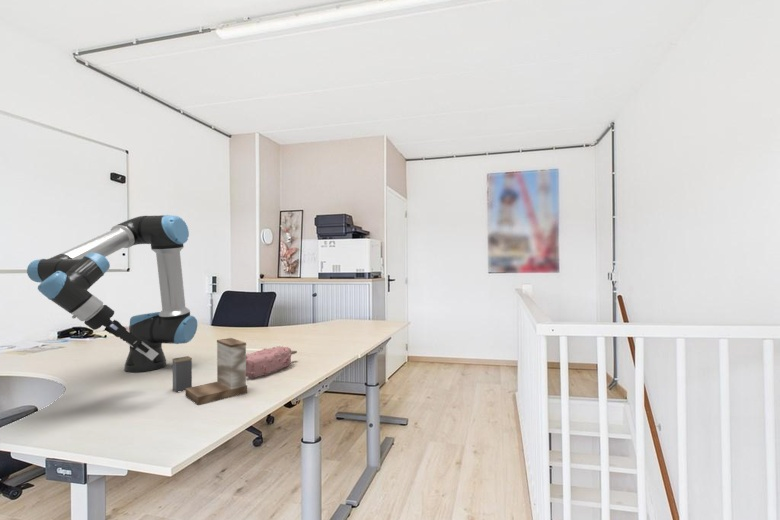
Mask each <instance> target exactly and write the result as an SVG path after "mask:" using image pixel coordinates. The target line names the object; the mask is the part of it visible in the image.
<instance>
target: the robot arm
mask: <svg viewBox="0 0 780 520" xmlns="http://www.w3.org/2000/svg"><path fill="white" fill-rule="evenodd" d="M189 236H190V231H189V227H188V225H187V223H186V222H185V220H184V219H182V217H180V216H178V215H172V214H171V215H170V214H165V215H164V214H163V215H140V216H136V217H133V218H130V219H127V220H125V221H123V222H120V223H118V224H116V225H114V226H112V227H111V229H110V230H109V231H106V232H105V233H103V234H101V235H98V236H96V237H94V238H92V239H90V240H87V241H85V242H83V243H81V244H78V245H77V246H74V247H72V248H70V249H68V250H66V251H64V252H61V253H59V254H56V255H54V256H51V257H50V258H41V259H36V260H35V259H34V260H32V261H31V262H30V263H29V264H28V266H27V267H26V274H27V276H28V278H29V279H30V280H31V281H33V282H35V283H39V285H38V286H37V290H38V292H39V293H41V294H42V295H43V296H45V297H46V298H47V299H48V300H50V301H51V302H53V303H54V304H56V305H57V306H59V307H60V308H61V309H63V310H65V311H66V312H67V313H69V314H71V315H72V316H71V318H72V319H77V320H79V321H81V322H84V325H86V327H88V328H90V329H91V330H93V331H94V330H98V329H100V328H101V327H105V328H103V329H104V331H106V332H107V333H109V334H111V335H113V336H115V337H116V338H119V339H120V340H122V341H123V342H125V343H126V344H128V345H129V352H128V355H127V357H126V360H125V364H124V371H125V372H128V373H141V372H142V373H144V372H150V371H155V370H159V369H163V368H164V367H167V359H166V356H165V353H164V349H163V348H162V347H163V346H162V344H171V345H172V344H173V345H174V344H175V345H179V344H187V343H189V342H191V341H192V340H193V338H194V337H195V336H196V335H195V334H196V333H197V330H198V320H197V318H196V317H195V316H193V315H191V311H190V309H189V308H188V307H186V299H185V289H184V281H183V279H184V278H183V270H182V260H181V251H182V250H183V249H184V248H185V247H184V246H185V245H184V244H186V243H187V241H188V240H189ZM136 245H150V249H151V251H153V252H154V253H155V254H156V264H157V272H158V273H157V274H158V281H159V282H158V283H159V292H160V303H161V311H156V312H150V313H149V312H148V313H142V314H136V315H132V316H131V317H130V319H129V326H128V328H129V329H128V330H127V328H126V327H125V326H123V325H122V324H121V322H120V321H118V320H117V319H113V320H112V317H113V316H114V315H115V310H114V309H112V308H111V307H110V306H108V305H107V304H104V302H103V301H102V300H101V299H99V298H98V297H97V296H95V295H94V294H92V293H91V292H90V291H89V289H90V288H91V287H92V286H93V285H94V284H96V282H98V281H99V279H100V278H101V279H102V277H103V276H104V275H105V274H106V273H107V272H108V270H110V267H111V265H110V261H109V260H108V258H107V257H108V256H110V255H112V254H114V253H116V252H118V251H120V250H121V249H129V248H132V247H133V246H136Z"/></svg>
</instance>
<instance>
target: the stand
mask: <svg viewBox="0 0 780 520" xmlns="http://www.w3.org/2000/svg"><path fill="white" fill-rule="evenodd" d="M246 347H247V342H245V341H243V340H239V339H236V338H234V337H228V338H221V339H217V340H216V348H217V349H216V350H217V351H216V356H217V358H216V360H217V362H216V367H217V368H216V369H217V370H216V371H217V373H216V375H217V376H216V377H217V380H216V381H214V382H209V383H205V384H198V385H196V386H192V387H190V388H185V394H184V395H186V396H187V397H186V396H185V397H186V398H187V399H188V400H190V399H191V400H190V401H192V402H193V403H194V402H195V404H196V405H198V406H199V405H201V406H202V405H205V404H208V403H213V402H216V401H220V399H221V400H224V398H225V399H228V397H229V398H232V396H233V397H236V395H237V396H240V394H241V395H244V394H247V393H248V385H247V377H246V354H247V353H246V352H247V348H246Z"/></svg>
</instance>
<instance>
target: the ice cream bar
mask: <svg viewBox="0 0 780 520" xmlns="http://www.w3.org/2000/svg"><path fill="white" fill-rule="evenodd" d="M297 353H298V351H297V350H292V349H291V348H290V347H288V346H285V347H284V346H283V345H282V346H276V347H275V346H274V347H270V348H263V349H262V350H258V351H254V352H250V353H246V378H249V379H254V378H257V377H260V376H263V375H265V376H267V375H269V374H273V373H275V372H276V371H278V370H280V369H283V368H287V367H289V366H290V365H291V362H292V360H291V358H292V355H295V354H297Z"/></svg>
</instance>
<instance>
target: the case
mask: <svg viewBox="0 0 780 520" xmlns="http://www.w3.org/2000/svg"><path fill="white" fill-rule="evenodd" d="M192 364H193V363H192V357H190V356H189V355H188V356H182V357H181V356H180V357H175V358H172V391H174V392H175V391H176V392H175V393H179V392H178V391H181V392H184V391H183V390H185V388H190V387H193V385H192V384H193V383H192V381H193V380H192V379H193V377H192V375H193V371H192V368H193V365H192Z"/></svg>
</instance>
